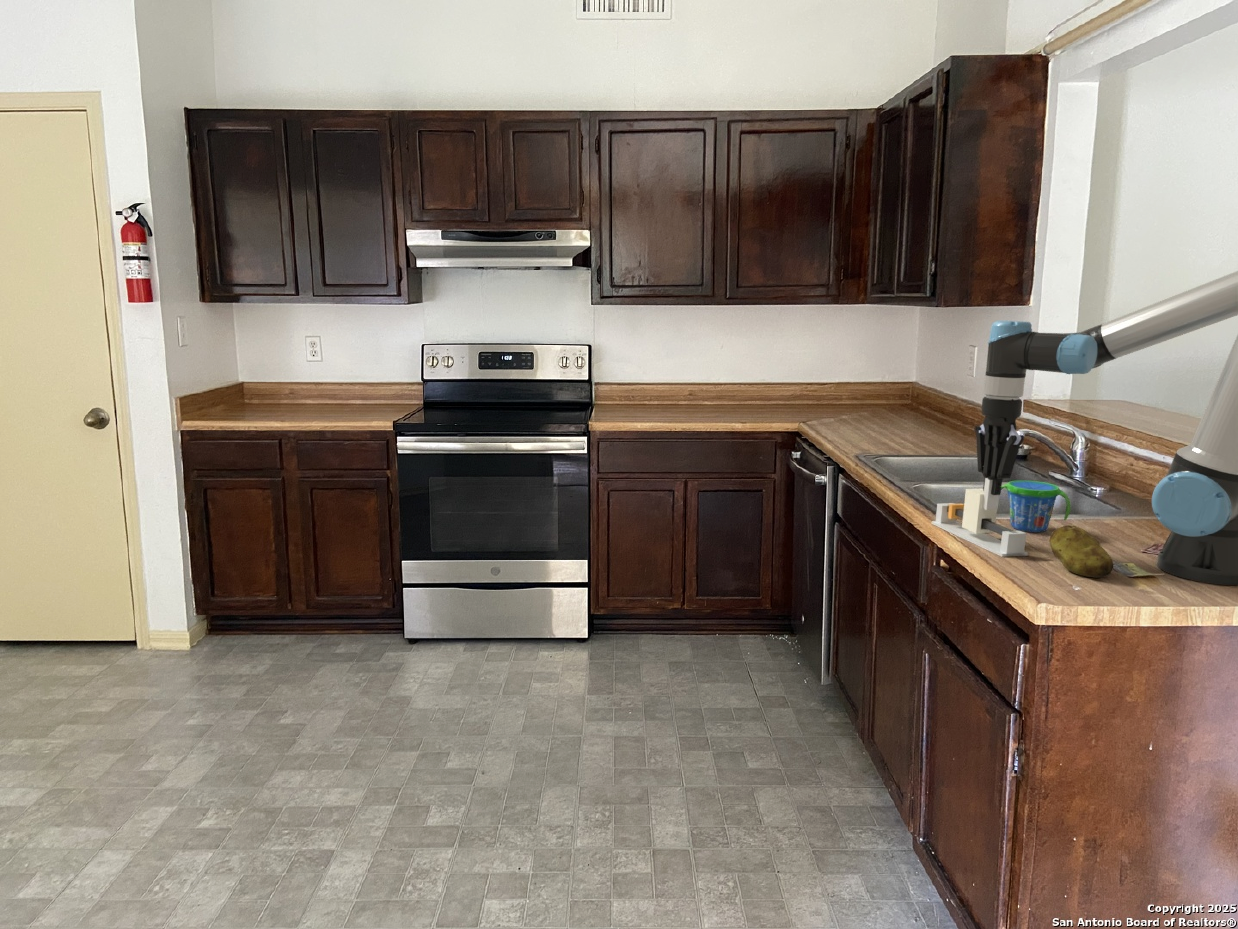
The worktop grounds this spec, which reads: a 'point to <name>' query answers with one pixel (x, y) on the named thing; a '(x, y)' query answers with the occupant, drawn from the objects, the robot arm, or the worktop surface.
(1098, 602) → the worktop surface
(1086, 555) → the potato
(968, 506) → the tall cream pillar
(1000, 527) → the sliding block rail
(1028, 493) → the snack cup
